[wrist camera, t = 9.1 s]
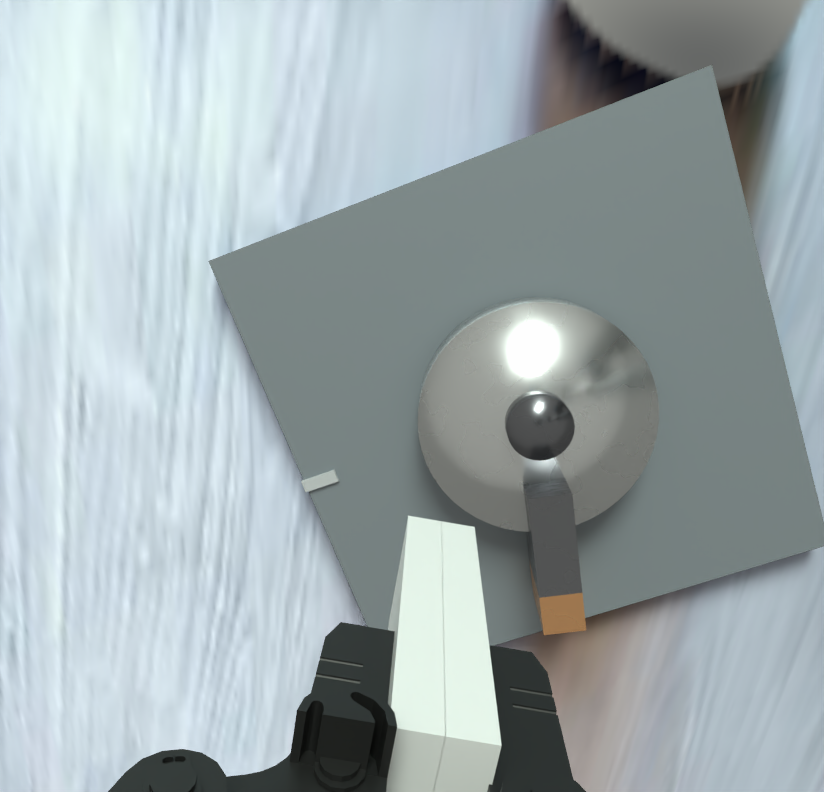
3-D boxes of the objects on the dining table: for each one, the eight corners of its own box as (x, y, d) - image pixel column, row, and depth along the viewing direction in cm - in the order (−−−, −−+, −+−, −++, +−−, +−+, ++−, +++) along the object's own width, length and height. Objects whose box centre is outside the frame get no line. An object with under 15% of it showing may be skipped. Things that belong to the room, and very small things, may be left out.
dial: (402, 315, 33) (398, 327, 29) (638, 280, 32) (662, 288, 29) (448, 604, 37) (449, 646, 33) (659, 579, 36) (683, 619, 32)
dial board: (698, 71, 31) (714, 63, 30) (813, 531, 37) (832, 547, 35) (216, 259, 34) (204, 262, 33) (389, 660, 40) (387, 681, 38)
